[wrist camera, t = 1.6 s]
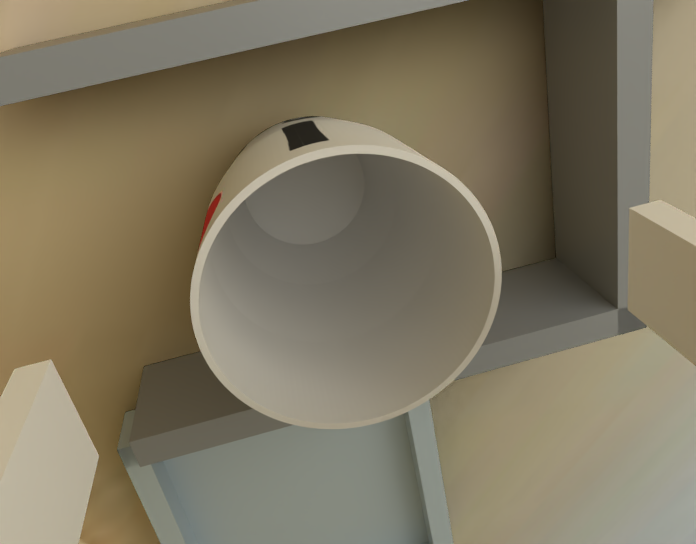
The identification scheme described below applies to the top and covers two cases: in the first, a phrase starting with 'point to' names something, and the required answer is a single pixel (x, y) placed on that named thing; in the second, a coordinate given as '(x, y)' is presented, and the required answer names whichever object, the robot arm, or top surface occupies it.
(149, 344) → the top surface
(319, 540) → the tray
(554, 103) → the holder
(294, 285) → the cup
